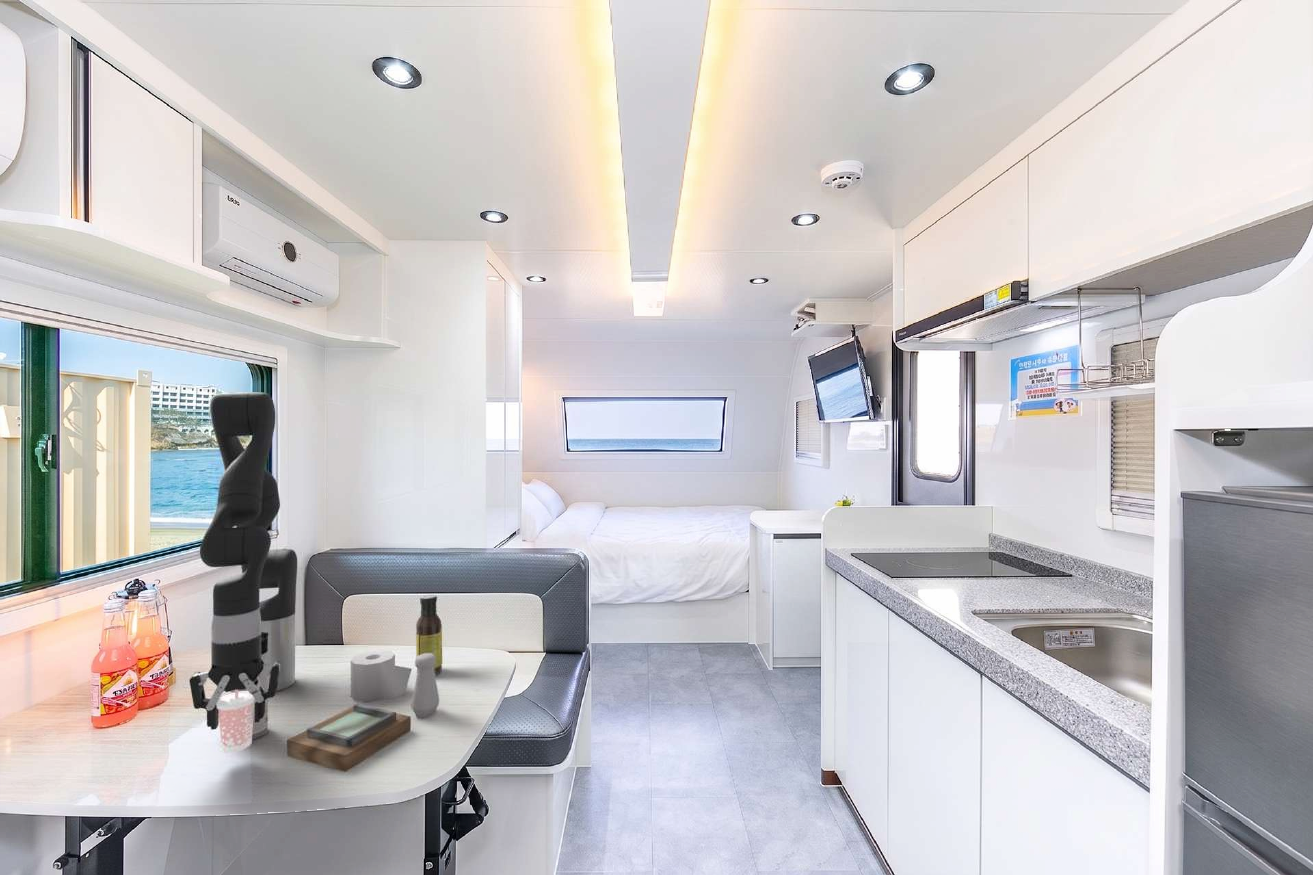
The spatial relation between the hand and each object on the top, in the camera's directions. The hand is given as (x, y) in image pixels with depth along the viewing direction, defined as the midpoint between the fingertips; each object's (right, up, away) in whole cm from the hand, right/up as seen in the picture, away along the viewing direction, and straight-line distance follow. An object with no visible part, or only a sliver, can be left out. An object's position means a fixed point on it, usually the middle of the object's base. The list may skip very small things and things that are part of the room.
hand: (236, 723), depth 109 cm
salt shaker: (+27, -8, +20) cm, 35 cm away
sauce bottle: (+19, -8, +43) cm, 47 cm away
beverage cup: (0, -4, 0) cm, 4 cm away
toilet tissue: (+12, -8, +31) cm, 34 cm away
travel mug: (-5, -8, +11) cm, 15 cm away
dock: (+17, -8, +8) cm, 20 cm away
